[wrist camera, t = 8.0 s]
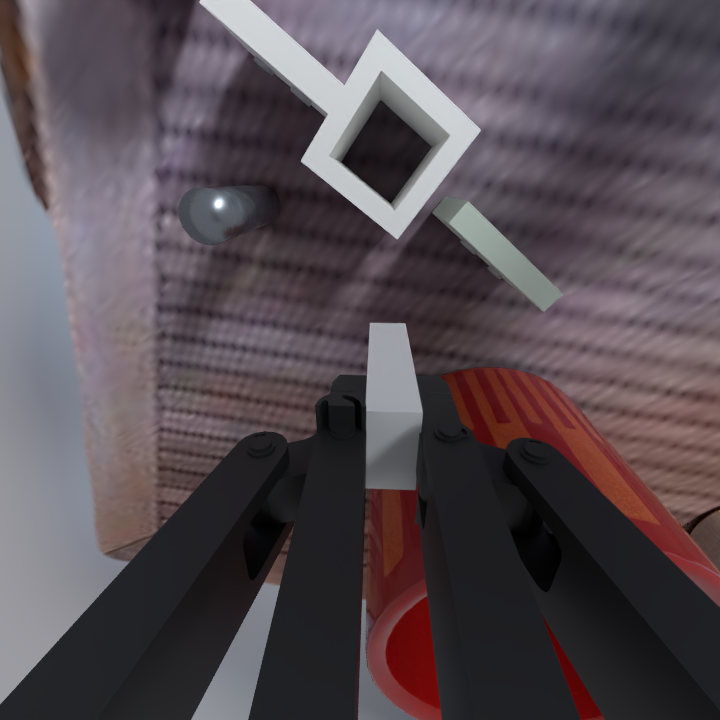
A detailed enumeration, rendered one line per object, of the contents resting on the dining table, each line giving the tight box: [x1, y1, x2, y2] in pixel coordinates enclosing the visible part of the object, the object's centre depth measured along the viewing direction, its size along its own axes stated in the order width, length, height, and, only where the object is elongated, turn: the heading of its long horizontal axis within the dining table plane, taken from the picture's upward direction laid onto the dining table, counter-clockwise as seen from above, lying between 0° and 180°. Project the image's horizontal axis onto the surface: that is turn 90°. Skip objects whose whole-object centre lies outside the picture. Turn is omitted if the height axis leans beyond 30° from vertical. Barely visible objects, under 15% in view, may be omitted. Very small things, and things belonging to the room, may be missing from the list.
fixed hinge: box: [199, 0, 481, 239], centre depth 24 cm, size 7×15×8 cm, turn 53°
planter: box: [365, 367, 720, 720], centre depth 32 cm, size 23×23×20 cm
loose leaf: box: [432, 196, 563, 312], centre depth 27 cm, size 2×9×8 cm, turn 51°
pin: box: [179, 185, 280, 245], centre depth 25 cm, size 3×3×11 cm
